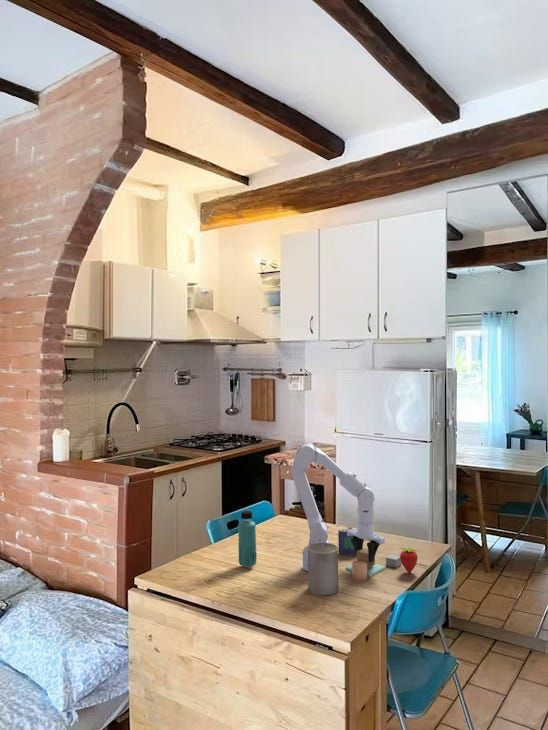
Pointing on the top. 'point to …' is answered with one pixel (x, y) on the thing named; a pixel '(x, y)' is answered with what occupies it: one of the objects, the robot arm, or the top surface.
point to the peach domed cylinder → (359, 570)
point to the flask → (345, 543)
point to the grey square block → (393, 561)
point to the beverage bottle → (247, 540)
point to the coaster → (370, 569)
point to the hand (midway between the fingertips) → (365, 559)
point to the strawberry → (408, 559)
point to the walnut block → (364, 557)
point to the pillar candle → (323, 569)
